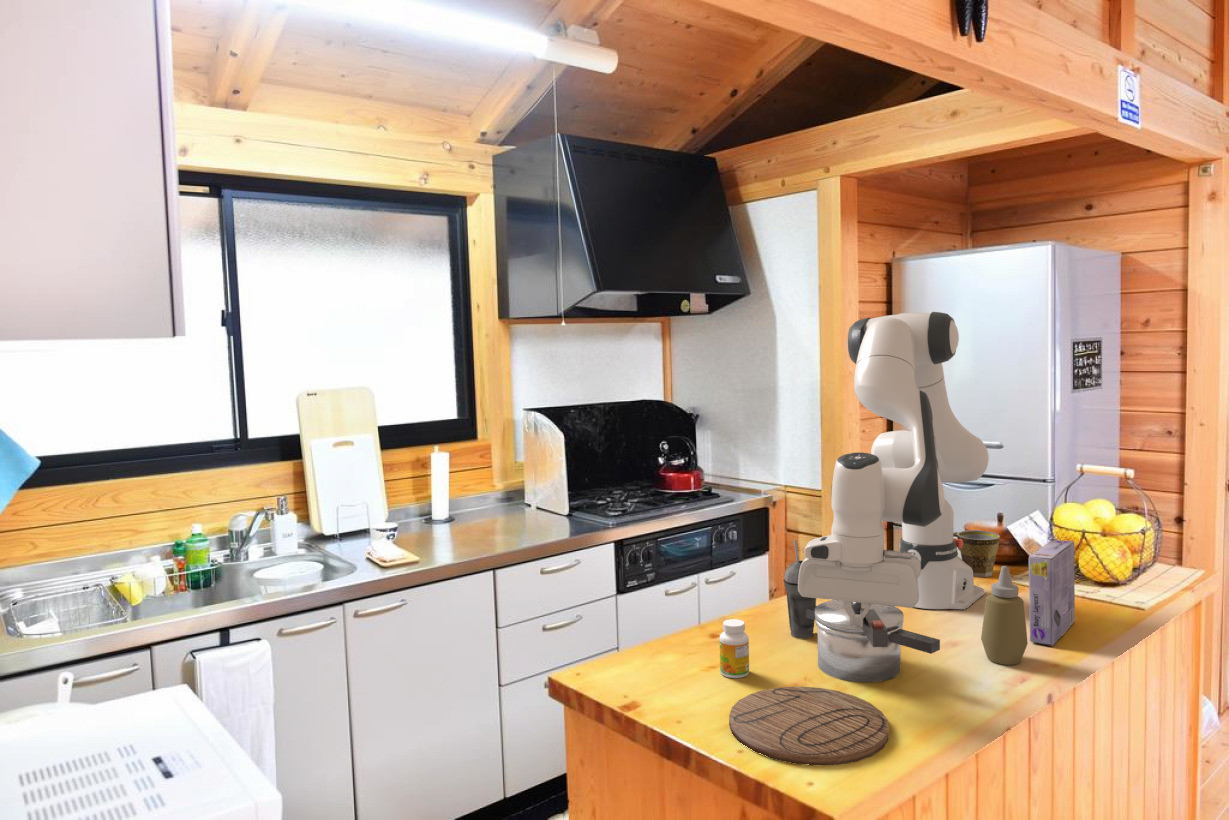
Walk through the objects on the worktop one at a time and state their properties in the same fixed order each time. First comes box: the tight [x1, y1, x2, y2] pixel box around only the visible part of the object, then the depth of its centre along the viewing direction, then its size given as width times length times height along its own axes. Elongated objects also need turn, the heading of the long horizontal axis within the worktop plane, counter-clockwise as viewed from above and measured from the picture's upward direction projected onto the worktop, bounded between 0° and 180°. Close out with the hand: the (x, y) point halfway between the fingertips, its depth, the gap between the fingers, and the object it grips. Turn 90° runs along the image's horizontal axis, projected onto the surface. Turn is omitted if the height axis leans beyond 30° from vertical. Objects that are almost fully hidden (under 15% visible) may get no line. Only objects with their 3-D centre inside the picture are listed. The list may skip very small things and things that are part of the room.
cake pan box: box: [1028, 539, 1076, 647], centre depth 182 cm, size 19×5×18 cm, turn 140°
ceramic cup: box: [953, 529, 1001, 578], centre depth 226 cm, size 13×10×10 cm
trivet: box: [728, 686, 889, 766], centre depth 144 cm, size 25×25×2 cm
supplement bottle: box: [719, 618, 750, 679], centre depth 166 cm, size 5×5×10 cm
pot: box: [806, 605, 941, 683], centre depth 166 cm, size 16×27×9 cm, turn 40°
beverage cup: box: [783, 539, 817, 639], centre depth 185 cm, size 7×7×20 cm
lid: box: [815, 600, 905, 647], centre depth 162 cm, size 16×26×5 cm, turn 176°
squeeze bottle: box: [980, 565, 1028, 666], centre depth 168 cm, size 8×8×18 cm
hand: (857, 625), depth 156 cm, fingers closed
